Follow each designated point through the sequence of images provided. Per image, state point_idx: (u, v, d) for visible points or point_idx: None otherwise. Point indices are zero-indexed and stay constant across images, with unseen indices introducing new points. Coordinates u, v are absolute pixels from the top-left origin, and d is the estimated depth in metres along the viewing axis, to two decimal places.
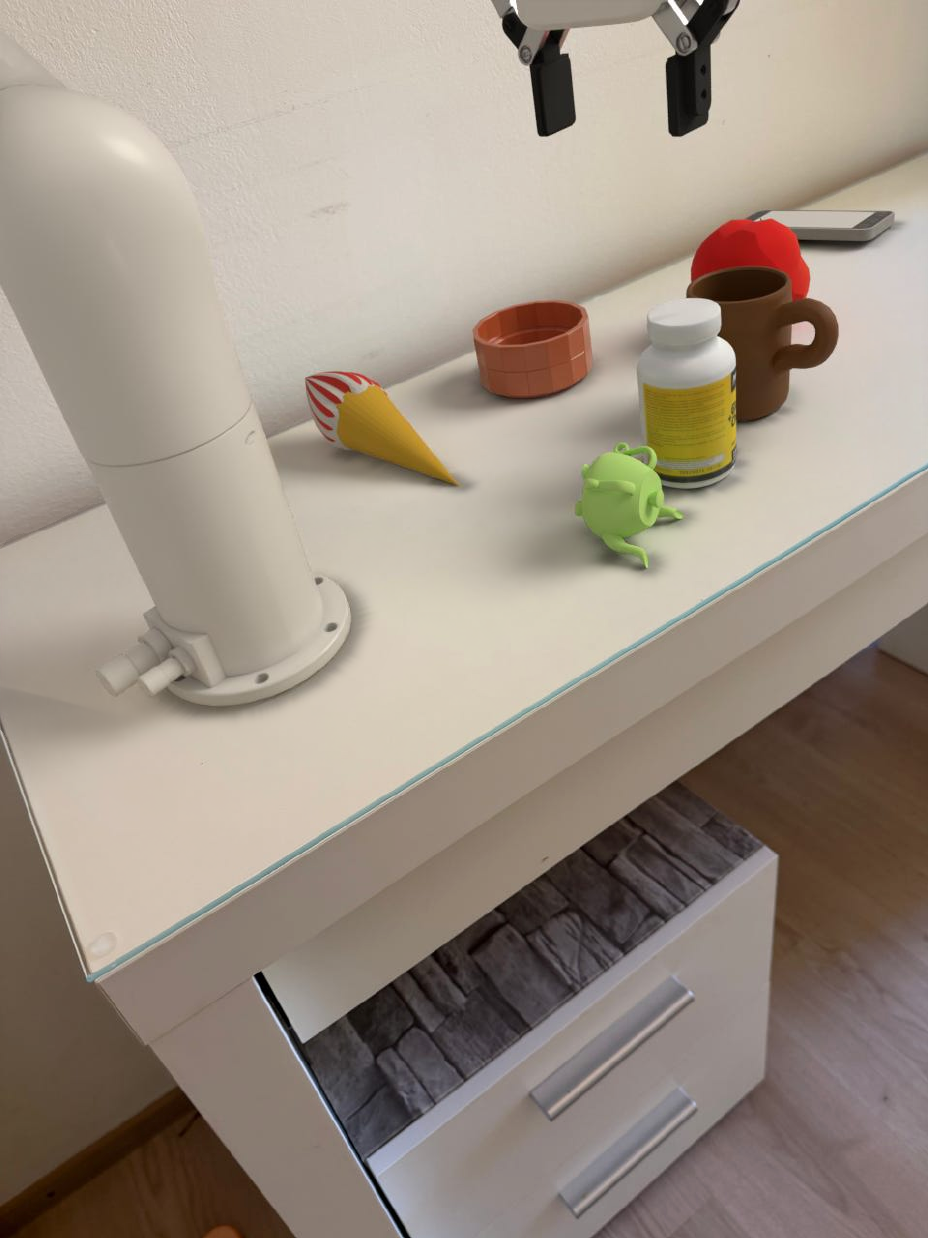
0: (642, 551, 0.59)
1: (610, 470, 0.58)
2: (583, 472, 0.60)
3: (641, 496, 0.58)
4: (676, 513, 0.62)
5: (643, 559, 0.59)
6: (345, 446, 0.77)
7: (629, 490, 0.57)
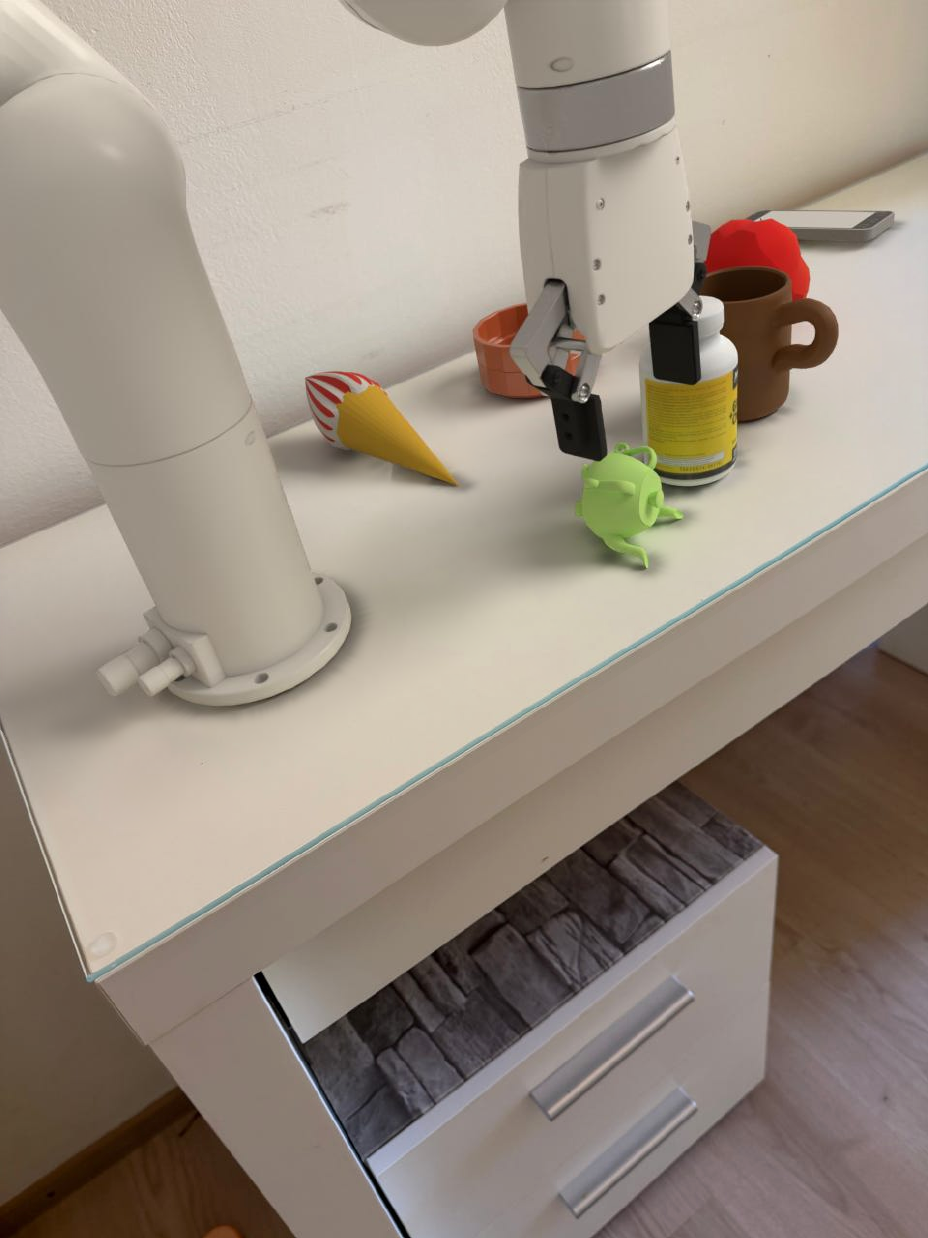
0: (642, 551, 0.59)
1: (610, 470, 0.58)
2: (583, 472, 0.60)
3: (641, 496, 0.58)
4: (676, 513, 0.62)
5: (643, 559, 0.59)
6: (345, 446, 0.77)
7: (629, 490, 0.57)
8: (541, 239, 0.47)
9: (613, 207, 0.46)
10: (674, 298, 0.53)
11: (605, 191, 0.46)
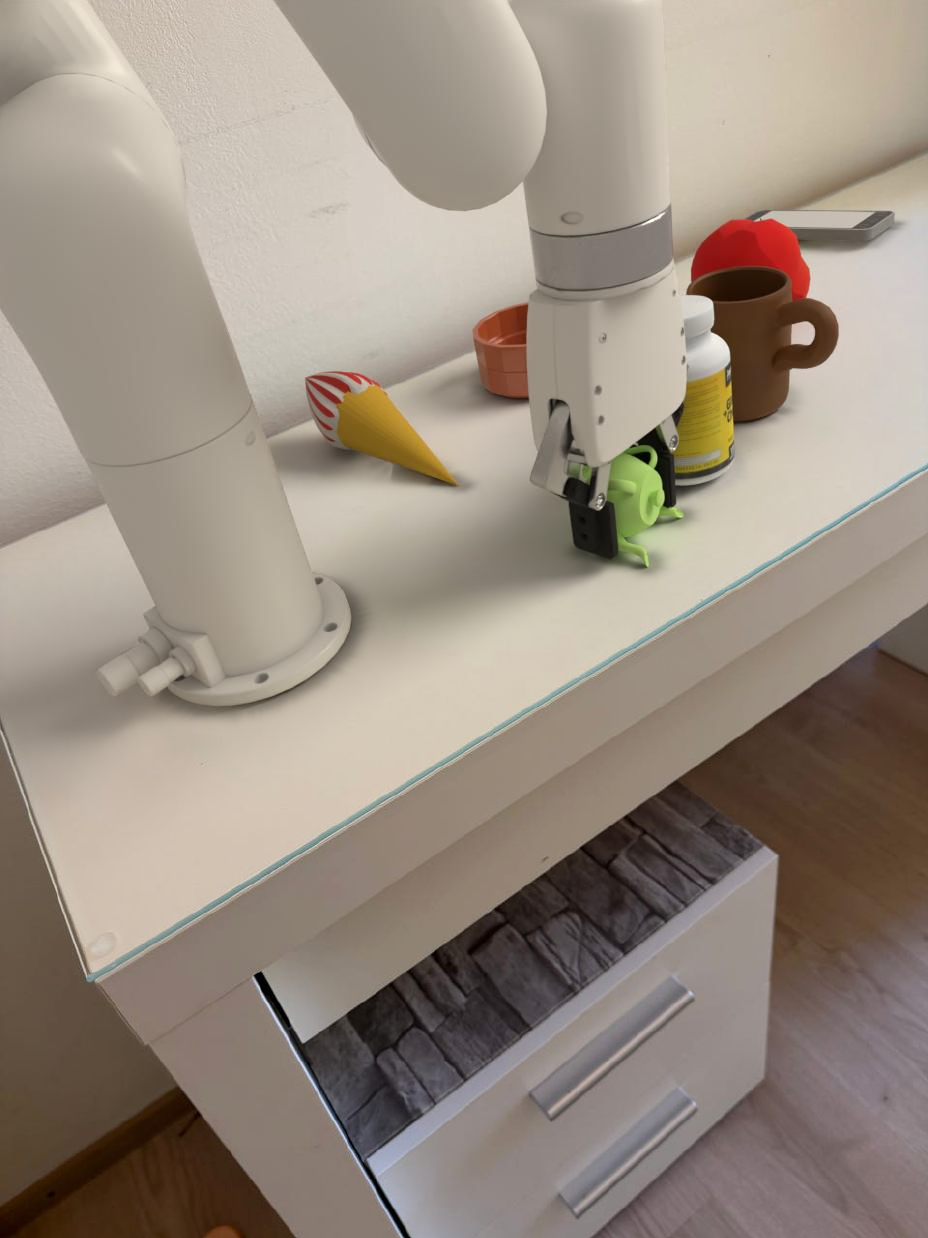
0: (643, 550, 0.59)
1: (611, 469, 0.59)
2: (584, 471, 0.60)
3: (642, 495, 0.58)
4: (676, 511, 0.62)
5: (644, 558, 0.59)
6: (345, 446, 0.77)
7: (630, 489, 0.57)
8: (547, 365, 0.51)
9: (614, 340, 0.50)
10: (667, 413, 0.57)
11: (607, 327, 0.50)
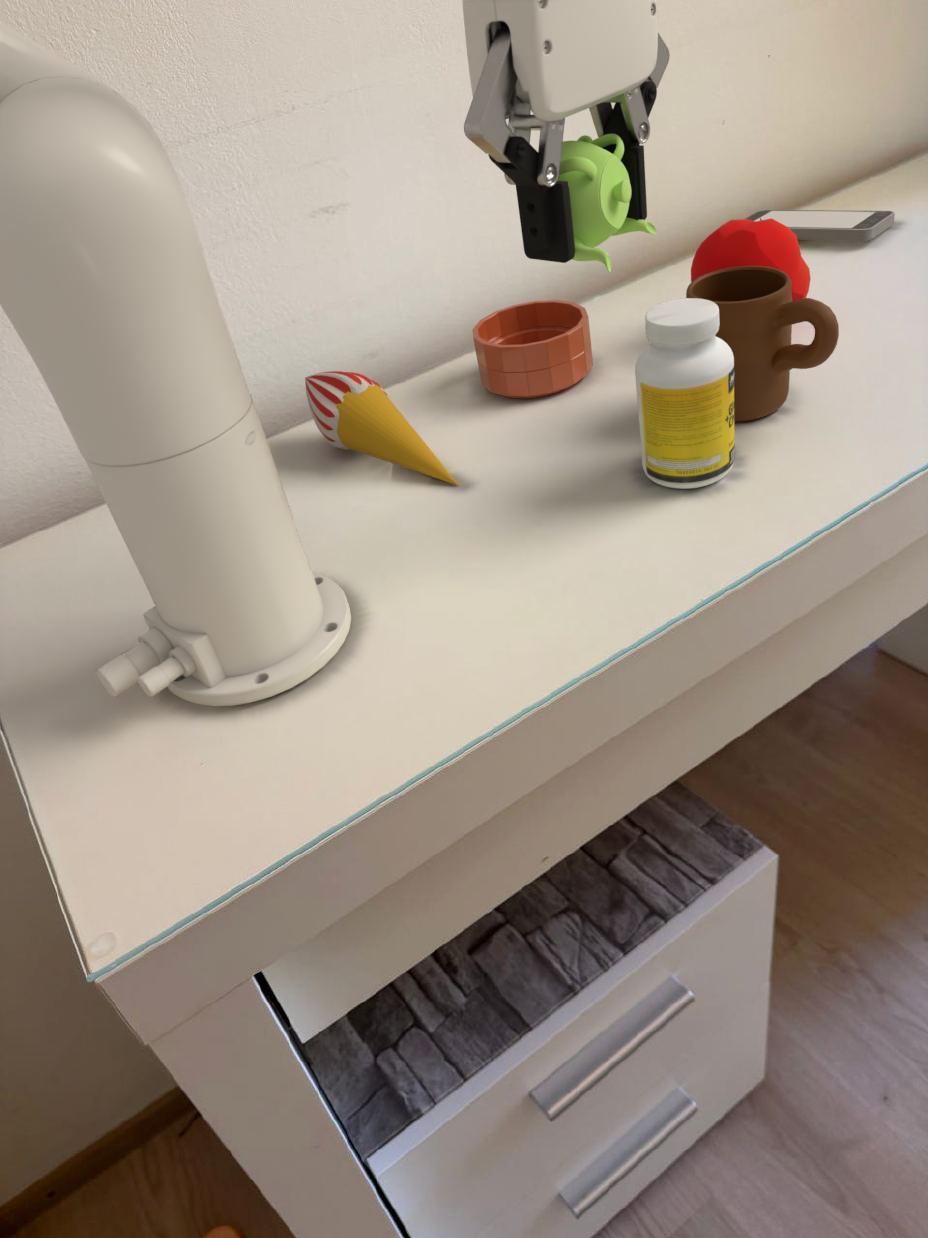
0: (604, 252, 0.50)
1: (568, 153, 0.50)
2: None
3: (603, 182, 0.49)
4: (647, 226, 0.53)
5: (605, 261, 0.50)
6: (345, 446, 0.77)
7: (588, 169, 0.48)
8: None
9: None
10: (633, 76, 0.48)
11: None
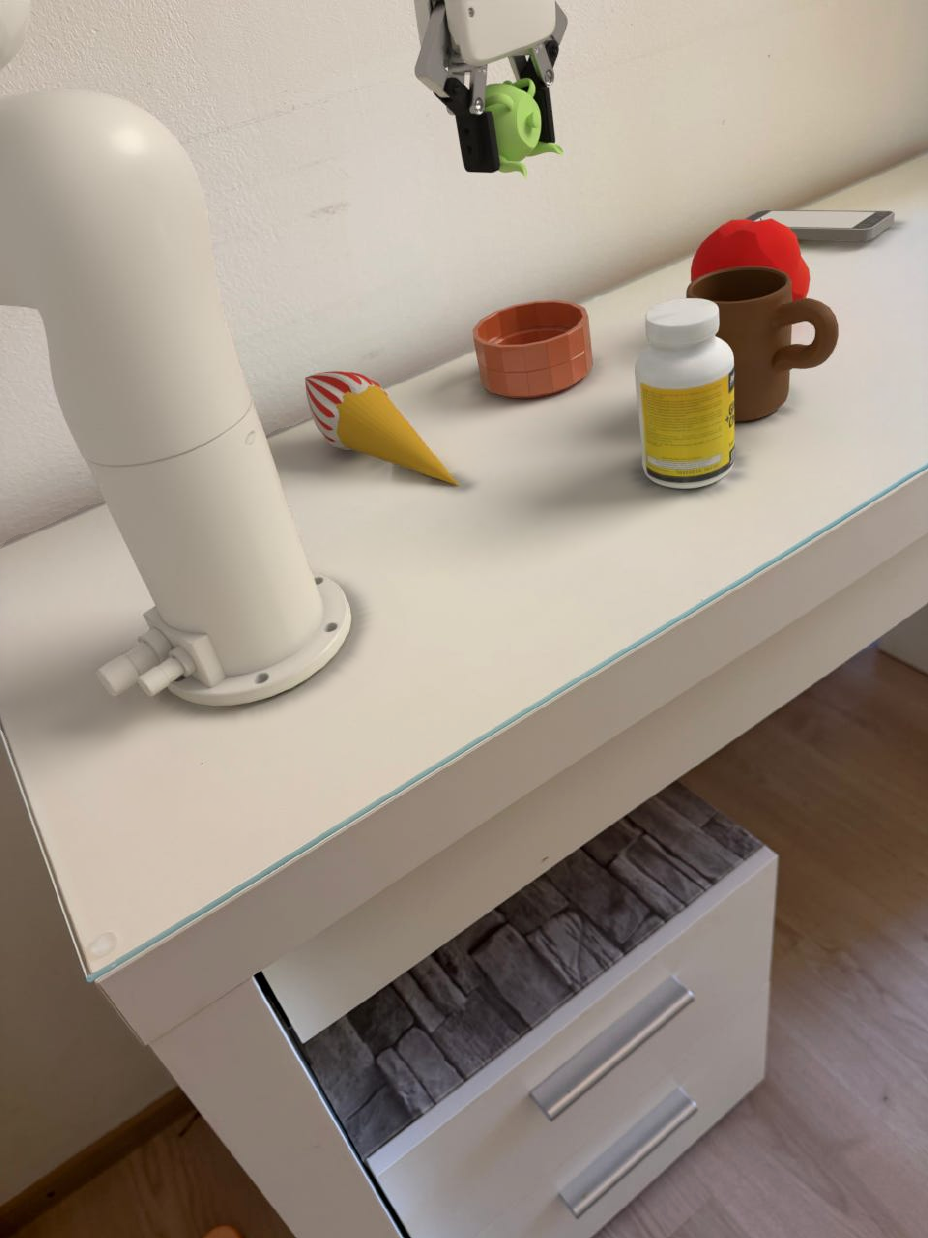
0: (521, 164, 0.69)
1: (493, 91, 0.68)
2: None
3: (519, 112, 0.68)
4: (556, 148, 0.72)
5: (522, 170, 0.69)
6: (345, 446, 0.77)
7: (507, 102, 0.67)
8: None
9: None
10: (537, 34, 0.67)
11: None
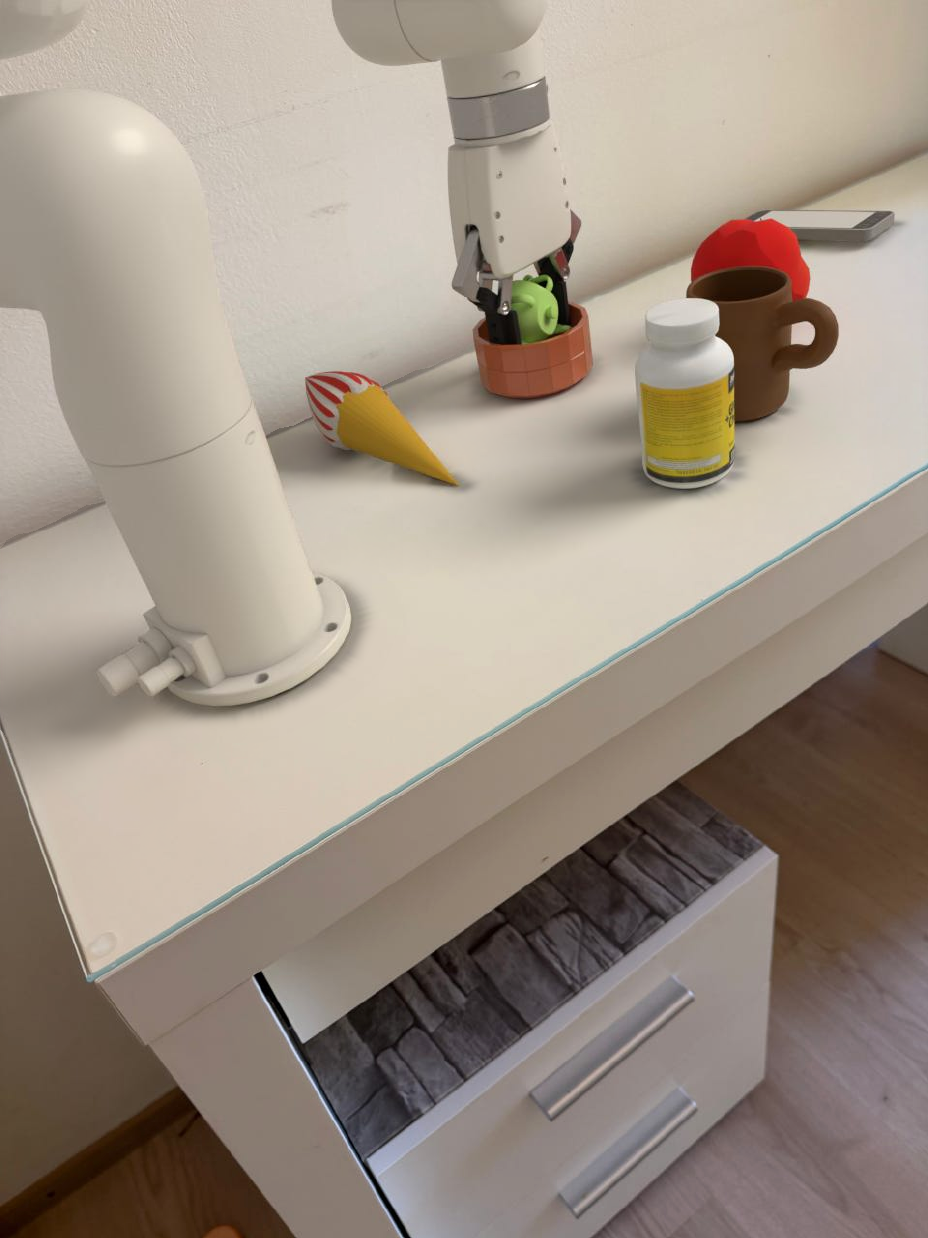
0: None
1: (516, 290, 0.79)
2: None
3: (539, 308, 0.79)
4: None
5: None
6: (345, 446, 0.77)
7: (529, 301, 0.78)
8: (461, 198, 0.72)
9: (508, 177, 0.71)
10: (556, 244, 0.78)
11: (502, 166, 0.70)
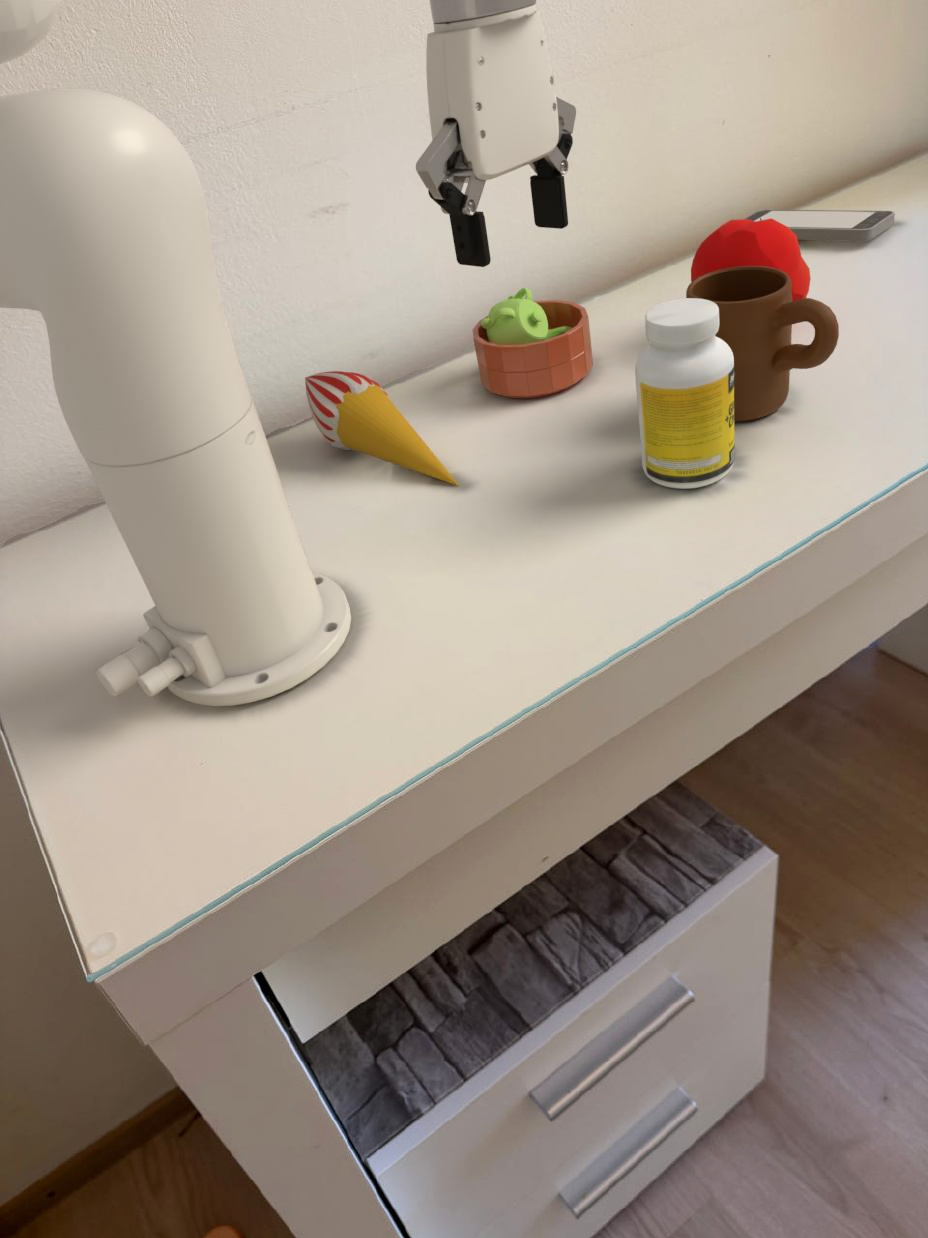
0: None
1: (497, 309, 0.81)
2: None
3: (521, 316, 0.80)
4: (567, 328, 0.83)
5: None
6: (345, 446, 0.77)
7: (507, 312, 0.79)
8: (441, 88, 0.67)
9: (490, 65, 0.66)
10: (542, 150, 0.73)
11: (484, 52, 0.65)
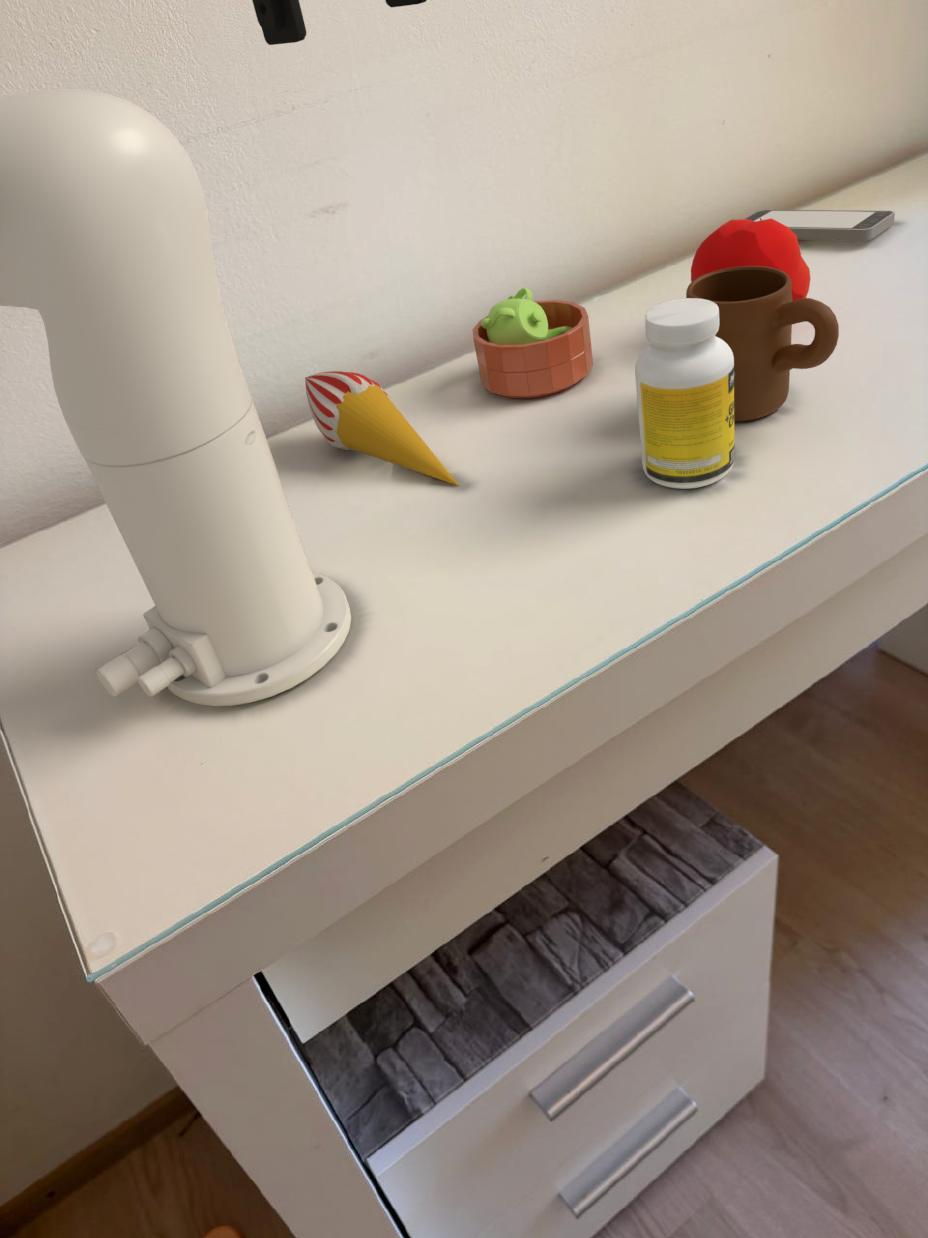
0: None
1: (497, 309, 0.81)
2: None
3: (521, 316, 0.80)
4: (567, 328, 0.83)
5: None
6: (345, 446, 0.77)
7: (507, 312, 0.79)
8: None
9: None
10: None
11: None
